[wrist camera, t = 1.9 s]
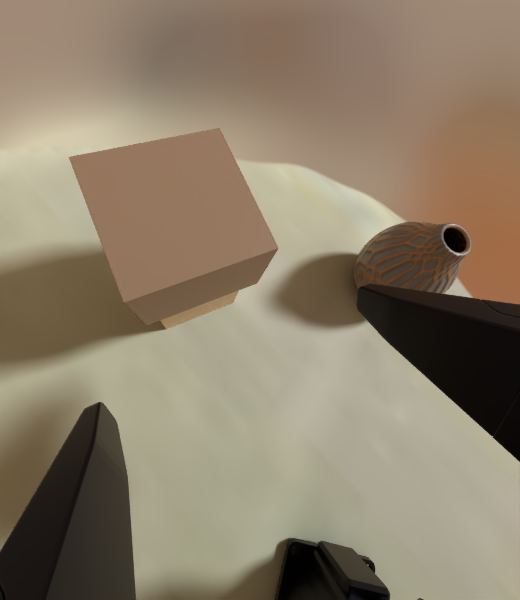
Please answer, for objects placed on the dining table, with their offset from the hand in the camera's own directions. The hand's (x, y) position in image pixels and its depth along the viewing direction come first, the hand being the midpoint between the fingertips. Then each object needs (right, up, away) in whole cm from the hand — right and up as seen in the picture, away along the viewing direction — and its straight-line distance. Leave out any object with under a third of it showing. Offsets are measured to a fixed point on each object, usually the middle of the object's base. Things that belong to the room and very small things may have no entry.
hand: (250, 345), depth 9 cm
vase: (+11, +3, +17) cm, 21 cm away
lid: (-4, +4, +8) cm, 10 cm away
